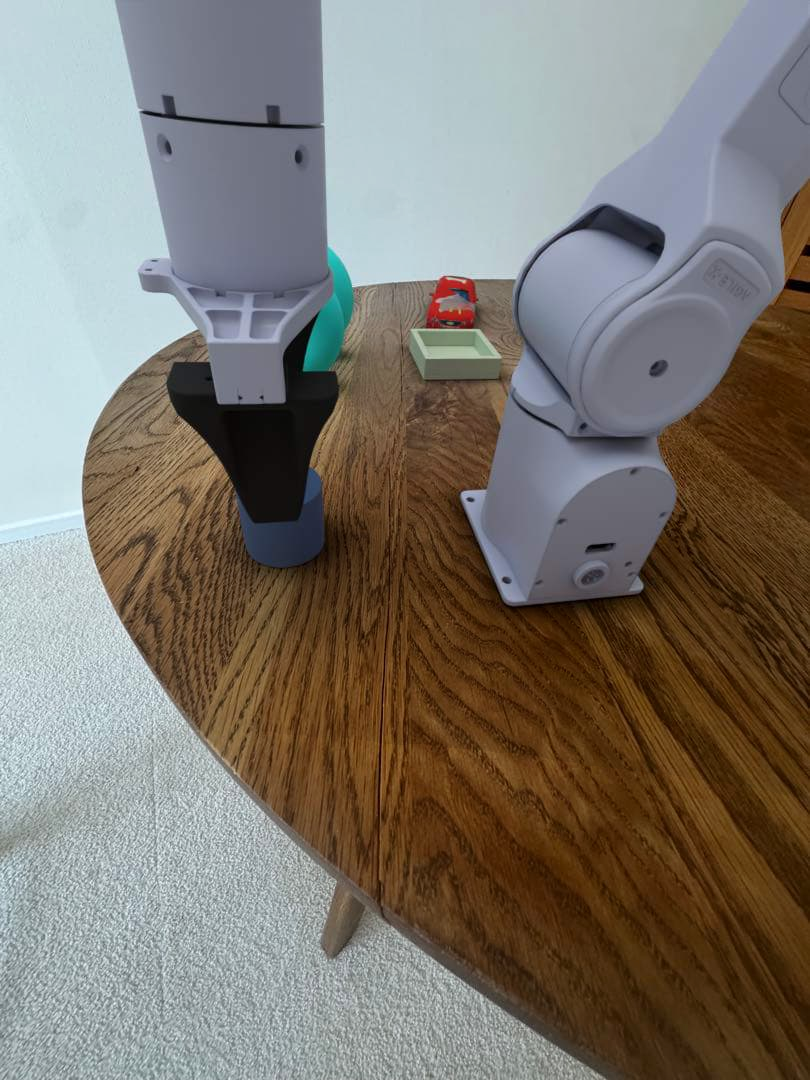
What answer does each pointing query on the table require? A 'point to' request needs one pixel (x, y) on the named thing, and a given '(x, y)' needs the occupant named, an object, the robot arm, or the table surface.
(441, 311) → the race car
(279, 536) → the cylinder
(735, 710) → the table surface
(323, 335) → the turquoise spool
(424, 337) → the tray
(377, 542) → the table surface
